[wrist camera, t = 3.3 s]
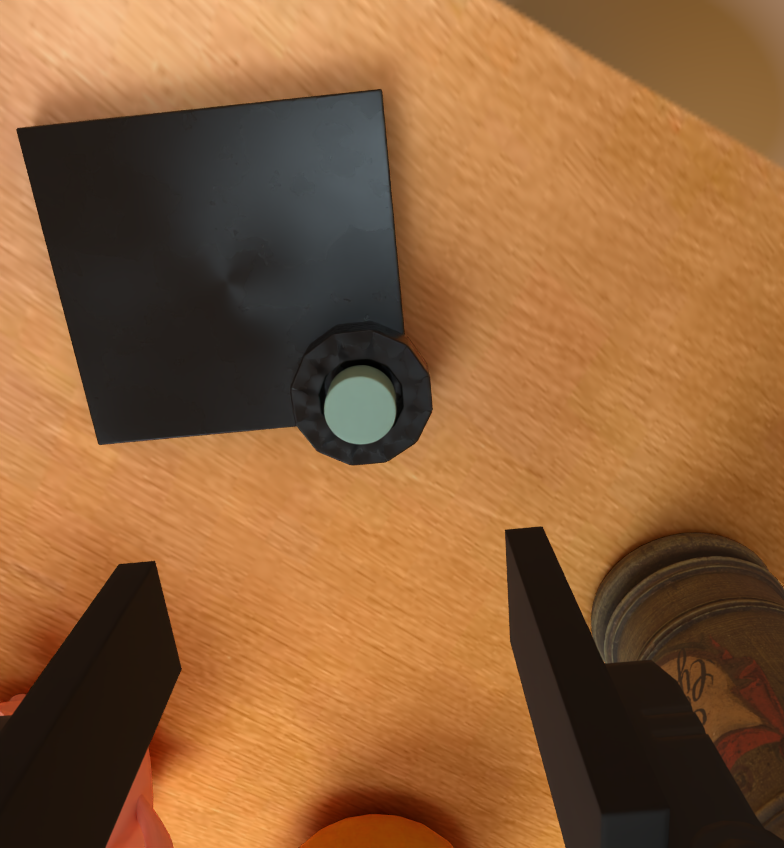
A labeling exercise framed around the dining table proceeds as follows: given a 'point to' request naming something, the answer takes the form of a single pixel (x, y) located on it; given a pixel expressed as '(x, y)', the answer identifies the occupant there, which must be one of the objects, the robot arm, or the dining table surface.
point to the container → (709, 647)
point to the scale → (229, 267)
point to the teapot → (128, 805)
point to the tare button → (360, 405)
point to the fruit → (376, 834)
